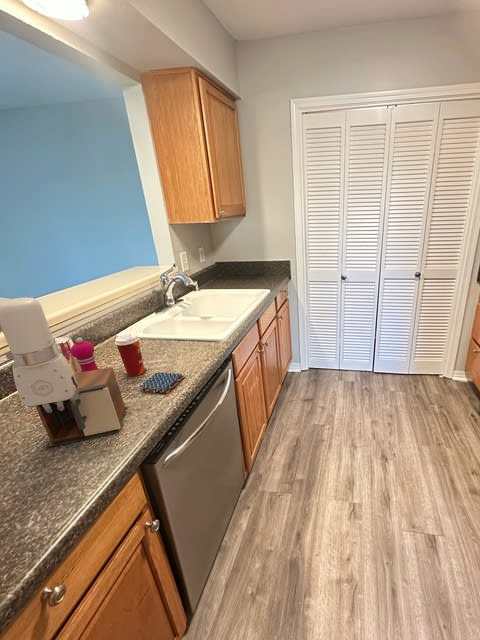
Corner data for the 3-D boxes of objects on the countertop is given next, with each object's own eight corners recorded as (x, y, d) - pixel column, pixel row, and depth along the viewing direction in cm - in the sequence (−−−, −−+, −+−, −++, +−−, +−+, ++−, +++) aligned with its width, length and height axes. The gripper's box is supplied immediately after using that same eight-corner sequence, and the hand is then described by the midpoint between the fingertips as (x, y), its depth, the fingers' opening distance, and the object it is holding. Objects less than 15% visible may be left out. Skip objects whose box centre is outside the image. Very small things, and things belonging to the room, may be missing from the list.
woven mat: (168, 394, 102) (167, 389, 102) (139, 392, 105) (137, 386, 104) (185, 377, 112) (184, 372, 111) (158, 375, 114) (156, 370, 113)
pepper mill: (99, 401, 101) (79, 343, 93) (79, 399, 102) (57, 342, 94) (115, 388, 107) (97, 333, 99) (96, 387, 109) (77, 332, 101)
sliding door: (80, 446, 81) (64, 404, 76) (86, 434, 85) (70, 394, 80) (117, 438, 83) (103, 396, 78) (120, 426, 87) (107, 387, 82)
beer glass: (83, 371, 120) (70, 334, 114) (86, 378, 115) (73, 340, 109) (61, 378, 115) (46, 340, 110) (63, 385, 111) (48, 346, 105)
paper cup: (151, 371, 117) (142, 336, 112) (129, 380, 112) (119, 343, 106) (142, 365, 122) (132, 331, 117) (120, 373, 117) (110, 338, 111)
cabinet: (48, 447, 82) (27, 400, 77) (64, 420, 93) (46, 377, 87) (117, 432, 86) (102, 387, 81) (125, 408, 97) (112, 366, 91)
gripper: (-15, 367, 66) (19, 439, 73) (69, 356, 70) (93, 424, 77) (4, 352, 72) (33, 419, 79) (80, 342, 76) (101, 407, 83)
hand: (63, 422), depth 78 cm, fingers closed
